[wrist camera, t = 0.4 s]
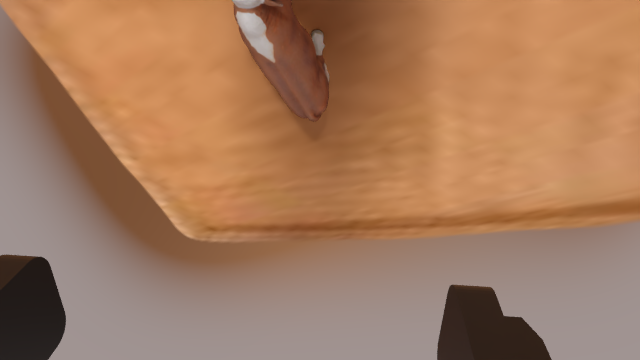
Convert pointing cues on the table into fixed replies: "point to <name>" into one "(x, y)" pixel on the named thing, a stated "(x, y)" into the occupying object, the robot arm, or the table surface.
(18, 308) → the robot arm
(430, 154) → the table surface
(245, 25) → the bull figurine
